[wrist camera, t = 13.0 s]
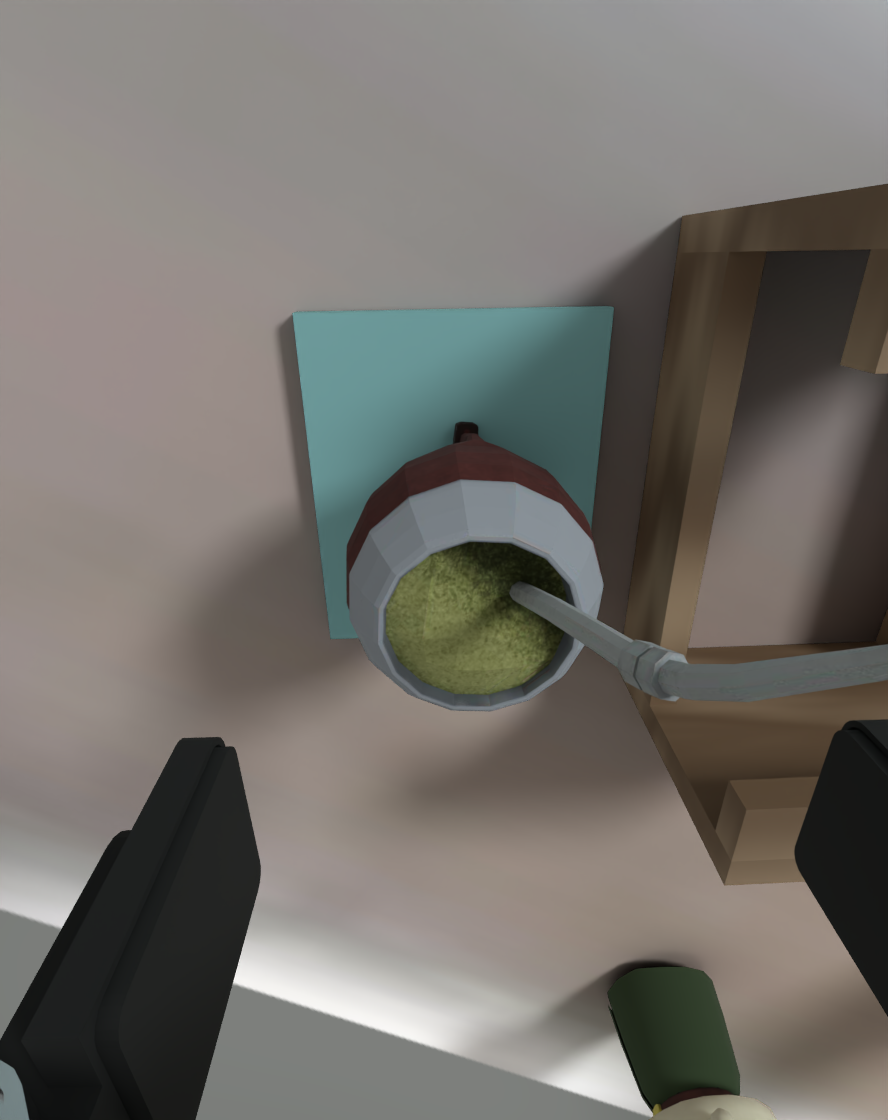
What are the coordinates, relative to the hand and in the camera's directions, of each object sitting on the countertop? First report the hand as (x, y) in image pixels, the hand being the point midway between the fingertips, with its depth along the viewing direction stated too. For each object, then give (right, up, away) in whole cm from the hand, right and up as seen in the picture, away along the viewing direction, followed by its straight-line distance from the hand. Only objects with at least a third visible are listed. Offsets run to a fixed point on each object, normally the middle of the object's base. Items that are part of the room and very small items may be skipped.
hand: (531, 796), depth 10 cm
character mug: (+11, -22, +27) cm, 37 cm away
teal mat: (-1, +6, +12) cm, 14 cm away
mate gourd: (-1, +6, +12) cm, 14 cm away
